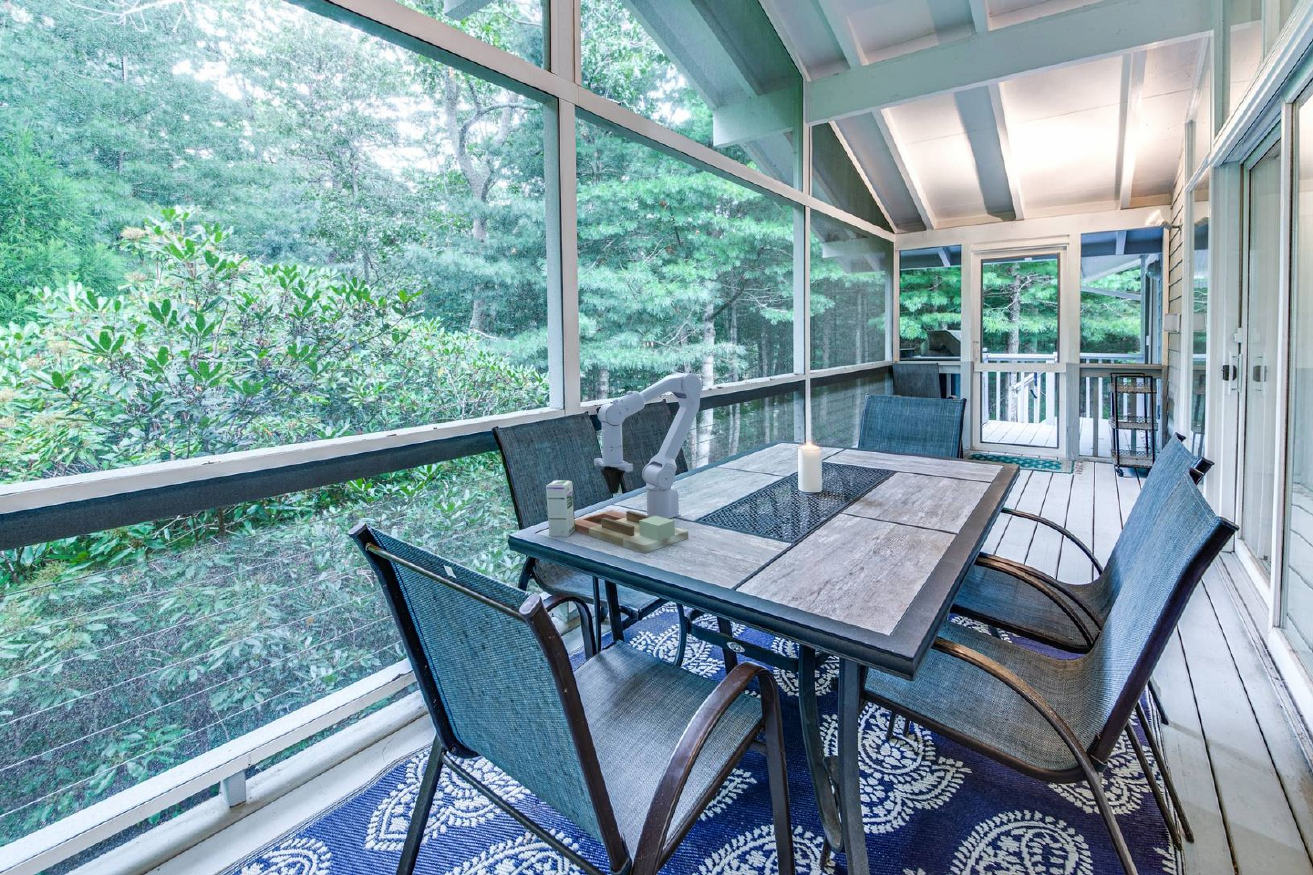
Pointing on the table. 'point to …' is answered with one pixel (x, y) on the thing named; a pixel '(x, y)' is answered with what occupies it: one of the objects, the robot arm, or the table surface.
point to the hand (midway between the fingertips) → (613, 493)
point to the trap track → (624, 530)
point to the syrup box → (560, 508)
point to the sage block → (657, 528)
